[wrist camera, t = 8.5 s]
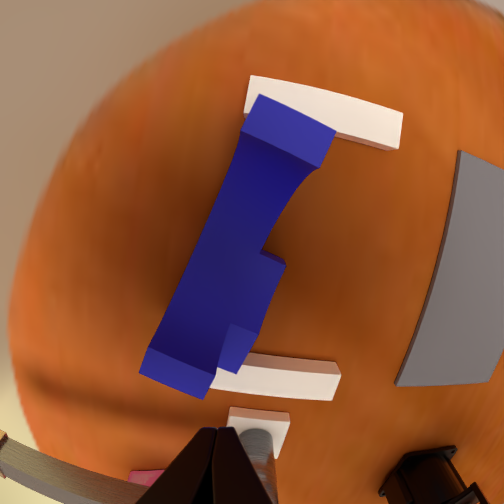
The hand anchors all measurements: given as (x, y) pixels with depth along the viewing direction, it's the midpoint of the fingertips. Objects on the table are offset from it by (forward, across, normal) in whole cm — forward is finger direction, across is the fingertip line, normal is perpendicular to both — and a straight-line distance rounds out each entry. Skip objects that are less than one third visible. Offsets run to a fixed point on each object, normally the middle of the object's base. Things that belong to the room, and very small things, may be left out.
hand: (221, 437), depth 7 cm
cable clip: (+11, -1, -3) cm, 12 cm away
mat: (+11, -17, +2) cm, 20 cm away
